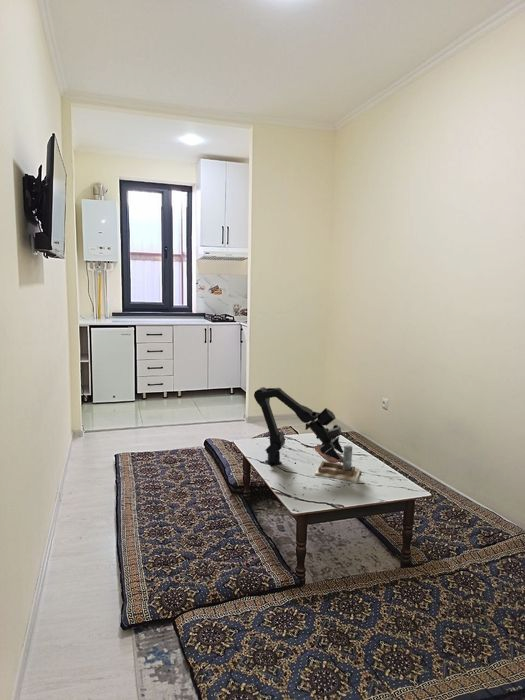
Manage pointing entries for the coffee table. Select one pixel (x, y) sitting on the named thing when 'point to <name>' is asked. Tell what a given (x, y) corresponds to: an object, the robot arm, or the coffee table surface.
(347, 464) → the slate peg
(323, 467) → the keyhole board
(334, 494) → the coffee table surface
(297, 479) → the coffee table surface
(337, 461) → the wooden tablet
